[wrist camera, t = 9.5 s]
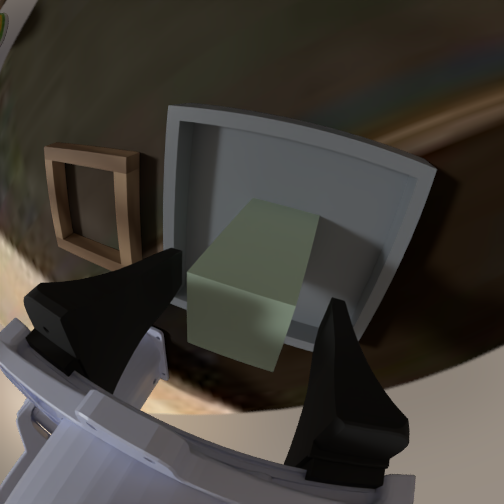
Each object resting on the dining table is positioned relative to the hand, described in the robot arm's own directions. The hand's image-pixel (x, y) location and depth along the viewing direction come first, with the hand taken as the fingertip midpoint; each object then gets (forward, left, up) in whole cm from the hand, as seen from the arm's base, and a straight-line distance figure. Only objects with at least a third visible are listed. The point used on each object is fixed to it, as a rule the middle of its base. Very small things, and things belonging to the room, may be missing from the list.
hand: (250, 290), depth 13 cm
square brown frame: (-2, +16, -6) cm, 17 cm away
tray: (0, 0, -6) cm, 6 cm away
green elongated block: (0, 0, -5) cm, 5 cm away
